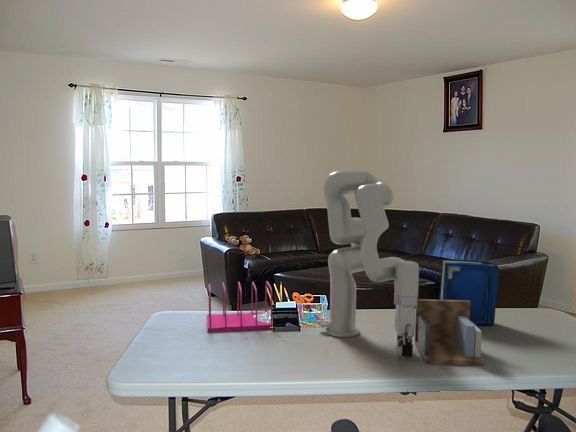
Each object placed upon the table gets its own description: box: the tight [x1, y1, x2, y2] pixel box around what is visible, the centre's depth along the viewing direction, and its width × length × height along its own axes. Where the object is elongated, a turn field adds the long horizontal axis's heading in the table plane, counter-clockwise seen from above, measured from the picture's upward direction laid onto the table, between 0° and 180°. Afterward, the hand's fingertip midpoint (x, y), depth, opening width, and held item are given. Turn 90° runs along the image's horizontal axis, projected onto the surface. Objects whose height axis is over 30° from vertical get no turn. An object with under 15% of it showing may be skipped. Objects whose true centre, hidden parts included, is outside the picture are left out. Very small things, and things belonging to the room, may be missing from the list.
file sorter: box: [206, 280, 273, 333], centre depth 193 cm, size 17×25×16 cm
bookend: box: [418, 315, 430, 356], centre depth 163 cm, size 1×11×10 cm, turn 177°
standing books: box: [456, 316, 483, 358], centre depth 162 cm, size 5×11×10 cm, turn 177°
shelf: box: [414, 298, 485, 367], centre depth 163 cm, size 18×18×16 cm
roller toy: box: [395, 338, 409, 360], centre depth 161 cm, size 4×6×6 cm
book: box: [438, 259, 500, 327], centre depth 195 cm, size 22×7×25 cm, turn 84°
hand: (404, 350), depth 161 cm, fingers open, 9 cm apart
